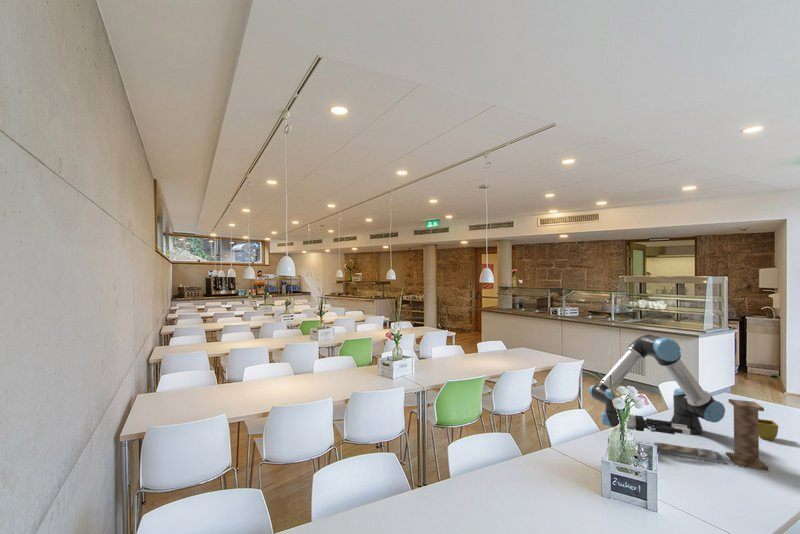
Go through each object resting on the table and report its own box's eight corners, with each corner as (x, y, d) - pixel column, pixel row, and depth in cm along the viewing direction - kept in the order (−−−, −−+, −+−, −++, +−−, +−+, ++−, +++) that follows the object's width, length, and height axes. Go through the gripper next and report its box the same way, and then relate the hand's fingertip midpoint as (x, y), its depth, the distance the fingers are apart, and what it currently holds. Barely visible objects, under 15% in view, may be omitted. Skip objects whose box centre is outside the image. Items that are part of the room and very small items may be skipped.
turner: (660, 450, 196) (660, 446, 196) (657, 444, 202) (657, 440, 202) (716, 459, 186) (716, 455, 186) (712, 453, 193) (712, 449, 193)
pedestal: (735, 465, 181) (734, 405, 182) (725, 454, 192) (725, 398, 193) (768, 470, 177) (767, 408, 177) (757, 459, 188) (756, 401, 188)
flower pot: (757, 439, 212) (757, 422, 212) (752, 433, 220) (751, 417, 220) (779, 442, 208) (778, 425, 208) (772, 436, 216) (772, 420, 216)
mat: (659, 453, 193) (659, 452, 193) (654, 443, 205) (654, 442, 205) (727, 464, 182) (727, 463, 182) (718, 453, 194) (717, 452, 194)
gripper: (632, 424, 211) (683, 431, 202) (637, 436, 195) (693, 444, 186) (632, 410, 212) (683, 416, 202) (637, 421, 195) (693, 428, 186)
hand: (688, 430), depth 194 cm, fingers open, 5 cm apart
